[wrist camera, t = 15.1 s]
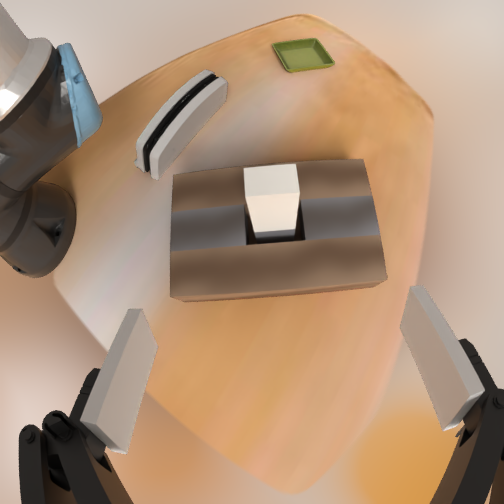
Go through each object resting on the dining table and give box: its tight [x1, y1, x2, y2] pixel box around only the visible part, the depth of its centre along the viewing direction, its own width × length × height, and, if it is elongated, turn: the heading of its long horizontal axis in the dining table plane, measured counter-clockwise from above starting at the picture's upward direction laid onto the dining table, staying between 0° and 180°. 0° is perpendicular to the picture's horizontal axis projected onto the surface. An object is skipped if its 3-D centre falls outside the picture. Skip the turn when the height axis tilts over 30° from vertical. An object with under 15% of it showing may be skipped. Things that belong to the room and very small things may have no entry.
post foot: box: [170, 159, 387, 302], centre depth 33 cm, size 14×22×5 cm, turn 94°
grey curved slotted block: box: [134, 70, 228, 180], centre depth 37 cm, size 17×5×10 cm, turn 147°
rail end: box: [244, 164, 300, 244], centre depth 28 cm, size 2×4×13 cm, turn 94°
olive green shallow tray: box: [272, 38, 335, 73], centre depth 43 cm, size 9×9×2 cm
